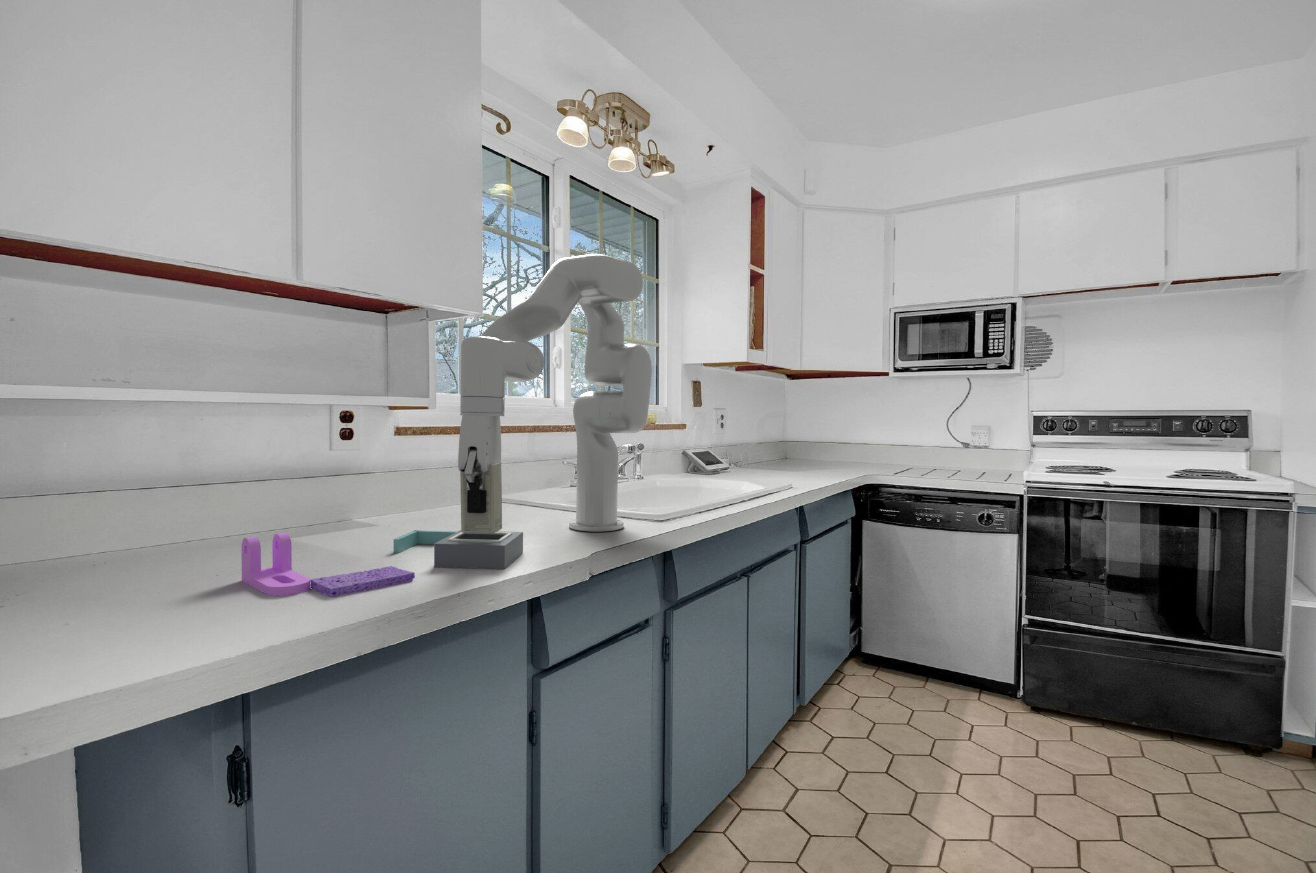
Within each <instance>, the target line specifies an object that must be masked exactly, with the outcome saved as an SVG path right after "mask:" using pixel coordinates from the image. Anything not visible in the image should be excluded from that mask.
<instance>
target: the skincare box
mask: <svg viewBox="0 0 1316 873" xmlns="http://www.w3.org/2000/svg"><path fill="white" fill-rule="evenodd" d="M464 468H466V467H464ZM464 470H465V469H464ZM459 472H460V471H459ZM475 472H482V471H481V470H480V469H478V468H475ZM459 474H460V476H459V477H460V479H459V480H460V481H459V482H460V483H459V484H460V530H461V532H462V533H495V532H497V531H500V530H502V529H503V494H502V493H503V492H502V491H503V487H502V483H503V482H502V481H503V480H502V462H501V463H495V464H492V465H490V469H489V471H488V472H486V475H485V488H484V490H487V491H486V512H485V513H468V512H467V481H466V477H465V472H460V473H459ZM478 477H479V480H480V476H478Z"/></svg>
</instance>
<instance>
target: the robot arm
mask: <svg viewBox="0 0 1316 873" xmlns="http://www.w3.org/2000/svg"><path fill="white" fill-rule="evenodd" d="M643 287H644V279H643V275H642V272H641V271H640V269H639V268H638V266H637V265H636V264H635V263H633V262H631V261H627V260H624V259H621V258H617V257H614V256H609V255H606V254H600V253H591V254H584V255H575V256H568V257H563V258H560V259H558V260H556V261H555V262H554V263H553V264H552V265H551V267H550V268H549V269H548V270H547V272H546V274H545V275H544V276H543V278H542V279H541V281H540V282H539V283H538V285H537V286H536V288H535V289H534V290H533V291H532V293H531V295H530V296H528V298H527V299H526V300H525V301H523V302H521V303H519V304H517V305H516V306H515V307H513V308H512V309H510V310H509V311H507V312H506V313H504V314H503V315H501V316H500V317H499V318H497V319H496V320H494V321H493V322H492V323H491V324H490V325H488V327H487V328H486V329H485V330H484V332H483V333H482V335H481V336H479V335H478V336H475V335H474V336H468V337H465V338H463V340H462V341H461V344H460V390H459V391H460V396H459V397H460V407H459V409H460V411H459V413H460V414H459V415H460V416H461V421H460V428H459V439H458V458H457V470H458V471H459V472H465V477H466V481H467V512H468V513H485V512H486V491H487V490H484V488H485V475H486V472H488V471H489V469H490V465H492V464H495V463H501V464H502V431H501V430H502V428H501V427H502V426H501V417H505V407H506V406H505V404H506V403H505V400H506V399H505V394H506V393H505V389H506V386H505V385H506V382H507V383H509V382H510V383H515V382H516V383H519V382H521V383H522V382H529V381H532V380H535V379H537V378H538V377H539V376H540V375H541V374H542V373H543V371H544V367H545V356H544V354H543V352H542V350H541V349H540V347H538V346H537V345H535V344H534V343H532V342H530V341H532V340H535V339H539V338H541V337H544V336H547V335H549V334H551V333H553V332H555V331H557V330H559V329H560V328H562V327H563V325H565V323H566V321H567V320H568V318H569V317H570V314H571V313H572V311H573V310H574V309H575V307H576V306H577V304H579V305H580V308H581V310H582V311H583V313H584V315H585V319H586V322H587V336H586V337H587V340H586V348H585V358H584V377H585V379H586V381H587V382H588V383H589V384H592V385H594V386H600V387H601V386H602V387H622V388H623V389H622V391H621V390H620V391H619V390H617V391H616V390H615V391H614V390H613V391H612V390H595V391H594V390H593V391H587V392H584V393H582V394H580V395H579V396H578V397H577V398H576V399H575V401H574V404H573V407H572V414H573V415H572V416H573V422H574V427H575V434H576V458H577V459H576V500H575V502H576V503H575V504H576V505H575V506H576V507H575V508H576V509H575V510H576V511H575V519H572V520H570V521H569V522H568V526H569V528H570V529H572V530H575V531H580V532H591V533H592V532H593V533H594V532H596V533H597V532H601V533H603V532H612V531H618V530H622V529H623V528H624V527H625V526H624V521H623V520H620V519H618V487H619V486H618V484H619V482H618V481H619V480H618V477H619V475H618V474H619V472H618V471H619V450H618V447H617V444H616V442H615V439H614V438H613V436H612V434H637V433H639V432H641V431H642V430H643V429H644V427H645V426H646V423H647V422H648V421H647V420H648V416H649V406H650V394H651V387H652V386H651V384H652V374H653V371H652V370H653V369H652V368H653V367H652V360H651V356H650V354H649V351H648V350H647V349H646V348H645V347H644V346H642V345H640V344H636V343H626V344H625V343H624V341H625V340H624V339H625V325H624V321H623V318H622V317H621V315H620V314H619V313H618V311H617V310H616V308H615V307H614V306H613V305H612V304H613V303H627V302H628V303H629V302H633V301H635V300H637V299H638V298H639V296H641V294H642V292H643ZM464 467H466V468H464ZM475 468H478V469H480V470H481V471H482V472H475ZM464 469H465V470H464ZM478 476H480V480H479V477H478Z"/></svg>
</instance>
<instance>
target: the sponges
mask: <svg viewBox="0 0 1316 873" xmlns="http://www.w3.org/2000/svg"><path fill="white" fill-rule="evenodd" d="M415 578H416V575H415V572H414V571H409V570H405V569H402V568H399V567H397V566H392V565H390V566H383V567H381V568H373V569H368V570H363V571H355V572H349V573H343V574H336V575H330V576H322V577H315V578H310V589H311V588H312V589H311V590H314V591H315V590H316V592H318V593H320V594H322V595H324V594H325V595H324V596H327V597H329V598H336V597H340V596H346V595H350V594H354V593H355V592H356V593H360V592H365V591H370V590H373V588H376V589H379V588H385V587H389V586H393V585H399V584H404V583H410V582H412V581H413V580H414V579H415ZM364 590H365V591H364Z"/></svg>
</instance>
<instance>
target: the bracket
mask: <svg viewBox="0 0 1316 873" xmlns="http://www.w3.org/2000/svg"><path fill="white" fill-rule="evenodd" d="M271 543H272V545H271V546H272V547H271V548H272V552H271V553H272V567H269V568H262V549H261V548H262V545H261V542H260V539H259V538H258V537H257V536H250V537H243V539H242V541H241V582H243V581H244V582H243V583H245V584H247V585H248V584H249V585H248V586H250V585H251V587H253V588H254V587H255V588H254V589H256V588H257V589H256V590H258V591H260V592H261V591H262V593H263V592H264V593H263V594H265V595H267V596H270V597H272V596H274V597H276V596H277V597H278V596H279V597H282V596H283V597H284V596H285V597H286V596H292V594H293V595H297V594H302V593H304V592H305V593H306V592H308V591H309V590H310V589H311V581H310V580H311V578H310V577H309V576H306V575H303V574H301V573H299V572H297V571H294V570H293V567H292V565H293V564H292V563H293V562H292V560H293V559H292V552H293V551H292V550H293V549H292V546H293V545H292V539H291V535H289V533H288V532H281V533H275V534H274V535H273V537H272V542H271ZM307 590H308V591H307ZM301 592H302V593H301Z"/></svg>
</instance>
